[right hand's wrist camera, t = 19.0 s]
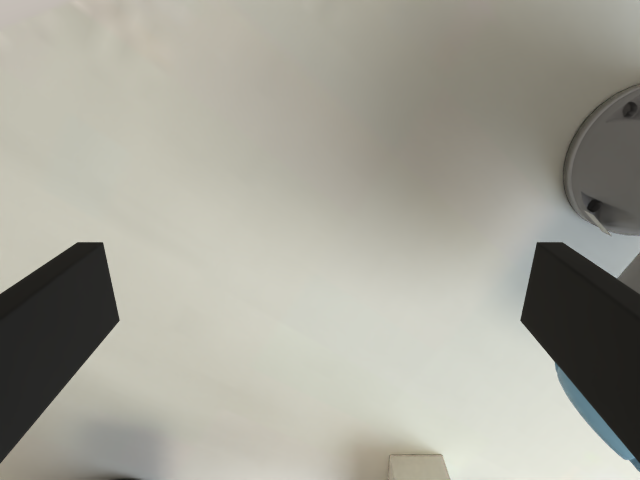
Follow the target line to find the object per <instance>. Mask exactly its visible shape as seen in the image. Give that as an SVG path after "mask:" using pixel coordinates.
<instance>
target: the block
mask: <svg viewBox="0 0 640 480" xmlns="http://www.w3.org/2000/svg"><path fill="white" fill-rule="evenodd" d="M388 480H450V477H449V474H448V471H447V468H446V465H445V462H444V459H443V456H442V455H390V460H389V471H388Z"/></svg>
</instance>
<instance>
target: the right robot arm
mask: <svg viewBox="0 0 640 480" xmlns="http://www.w3.org/2000/svg"><path fill="white" fill-rule="evenodd" d="M564 187H565V191H566V195H567V197H568V200H569V202H570V204H571V205H572V207H573V208H574V210H575V211H576V212H577V213H578V214H579V215H580V216H581V217H582V218H583V219H585V220H586V221H588V222H590V223H592V224H593V225H595V226H597V227H599V228H600V229H601V230H602V231H603V232H605V233H606V234H608V235H610V234H609V232H608V231H610V232H614V233H618V234H623V235H633V236H640V84H639V85H636V86H633V87H630V88H628V89H626V90H623V91H621V92H620V93H618V94H616V95H614V96H613V97H611V98H610V99H608V100H607V101H605V102H604V103H603V104H601V105H600V106H599V107H598V108H597V109H596V110H595V111H594V112H593V113H592V114H591V115H590V116H589V117H588V118H587V119H586V120H585V122H584V123H583V124H582V126H581V127H580V128H579V130H578V131H577V133H576V135H575V136H574V138H573V140H572V142H571V145H570V147H569V150H568V152H567V156H566V159H565V165H564ZM610 236H611V235H610ZM119 321H120V320H119V316H118V311H117V306H116V301H115V297H114V292H113V287H112V283H111V278H110V273H109V268H108V264H107V259H106V254H105V250H104V245H103V242H77V243H76V244H74V245H73V246H71V247H70V248H69V249H67V250H66V251H64V252H63V253H61V254H60V255H58V256H57V257H55V258H54V259H52V260H51V261H49V262H48V263H46V264H45V265H43V266H42V267H40V268H39V269H37V270H36V271H34V272H33V273H31V274H30V275H28V276H27V277H25V278H24V279H22V280H21V281H19V282H18V283H16V284H15V285H13V286H12V287H10V288H9V289H7V290H6V291H4V292H3V293H1V294H0V463H1V462H2V461H3V460H4V458H5V457H6V456H7V455H8V454H9V452H10V451H11V450H12V449H13V448H14V446H15V445H16V444H17V443H18V442H19V440H20V439H21V438H22V437H23V436H24V434H25V433H26V432H27V431H28V430H29V428H30V427H31V426H32V425H33V424H34V422H35V421H36V420H37V419H38V418H39V416H40V415H41V414H42V413H43V412H44V410H45V409H46V408H47V407H48V406H49V404H50V403H51V402H52V401H53V400H54V398H55V397H56V396H57V395H58V394H59V392H60V391H61V390H62V389H63V388H64V386H65V385H66V384H67V383H68V382H69V381H70V379H71V378H72V377H73V376H74V375H75V373H76V372H77V371H78V370H79V369H80V367H81V366H82V365H83V364H84V363H85V361H86V360H87V359H88V358H89V357H90V355H91V354H92V353H93V352H94V351H95V349H96V348H97V347H98V346H99V345H100V343H101V342H102V341H103V340H104V339H105V337H106V336H107V335H108V334H109V333H110V331H111V330H112V329H113V328H114V327H115V325H116V324H117V323H118V322H119ZM520 321H521V322H522V323H523V324H524V325H525V327H526V328H527V329H528V330H529V331H530V333H531V334H532V335H533V336H534V337H535V339H536V340H537V341H538V342H539V343H540V345H541V346H542V347H543V348H544V349H545V351H546V352H547V353H548V354H549V355H550V357H551V358H552V359H553V360H554V361H555V367H556V371H557V374H558V378H559V381H560V384H561V386H562V388H563V390H564V391H565V393H566V395H567V396H568V398H569V399H570V401H571V402H572V404H573V405H574V407H575V408H576V409H577V411H578V412H579V413H580V415H581V416H582V417H583V418H584V419H585V421H586V422H587V423H588V424H589V425H590V426H591V428H592V429H593V430H594V431H595V432H596V433H597V434H598V435H599V436H600V437H601V438H602V439H603V441H604V442H605V443H606V444H608V445H609V446H610V447H611V448H612V449H613V450H614V451H615V452H616V453H617V454H618V455H619V456H621V457H622V458H623V459H625V460H630V462H631V463H632V464H633V465H634V466H635V467H636V469H637V470H638V471H639V472H640V253H639V254H638V255H637V256H636V258H635V259H634V260H633V261H632V262H631V263H630V264H629V266H628V267H627V268H626V269H625V270H624V271H623V273H622V274H621V275H620V276H619V277H618V278H617V279H616V278H615V277H613V276H612V275H610V274H609V273H607V272H606V271H604V270H603V269H601V268H600V267H598V266H597V265H595V264H594V263H592V262H591V261H589V260H588V259H586V258H585V257H583V256H582V255H580V254H579V253H577V252H576V251H574V250H573V249H571V248H570V247H569V246H567V245H566V244H564V243H563V242H537V245H536V250H535V254H534V259H533V264H532V268H531V273H530V278H529V283H528V287H527V292H526V297H525V301H524V306H523V311H522V316H521V320H520Z"/></svg>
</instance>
